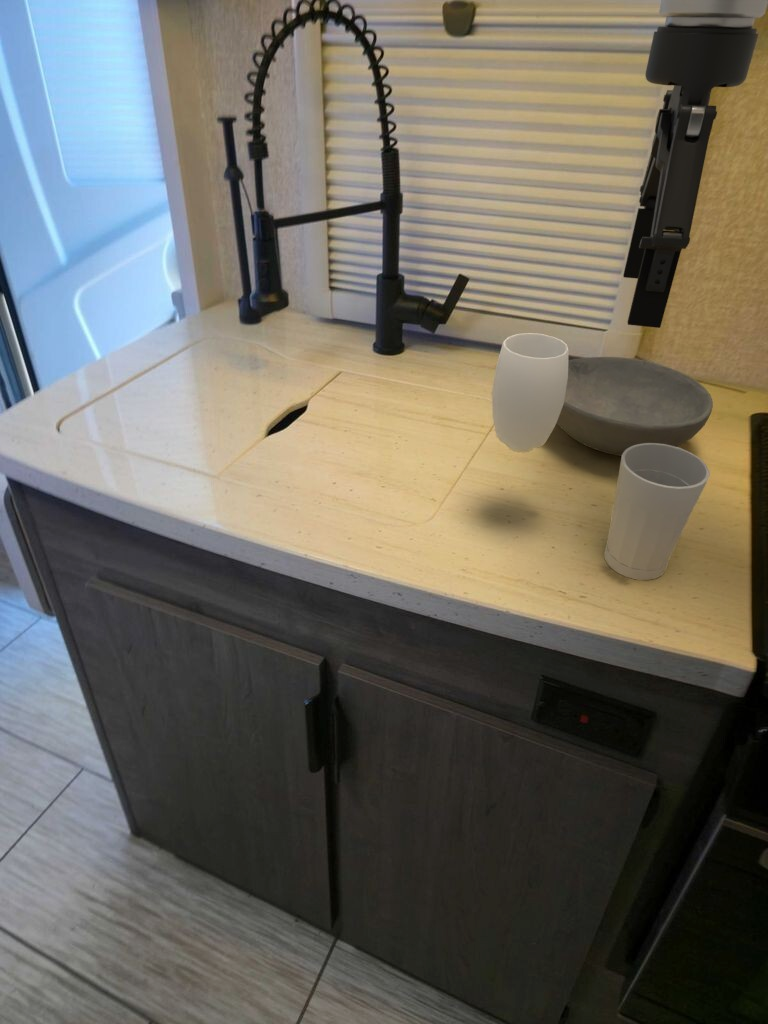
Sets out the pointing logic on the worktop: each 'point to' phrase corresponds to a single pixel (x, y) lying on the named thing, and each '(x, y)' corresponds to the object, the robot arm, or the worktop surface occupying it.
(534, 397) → the cup
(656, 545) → the cup
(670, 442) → the bowl
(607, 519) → the worktop surface
